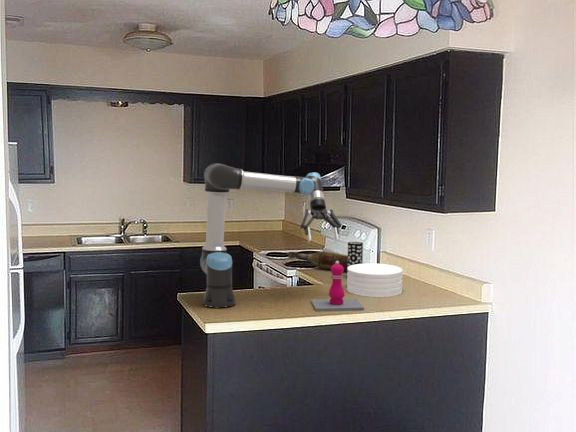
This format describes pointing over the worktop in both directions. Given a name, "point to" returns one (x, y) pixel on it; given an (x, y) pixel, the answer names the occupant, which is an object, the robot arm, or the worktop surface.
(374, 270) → the plate stack
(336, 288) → the pepper mill
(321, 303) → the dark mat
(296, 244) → the worktop surface
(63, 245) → the worktop surface
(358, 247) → the white-spotted black cylinder
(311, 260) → the decorative bottle
